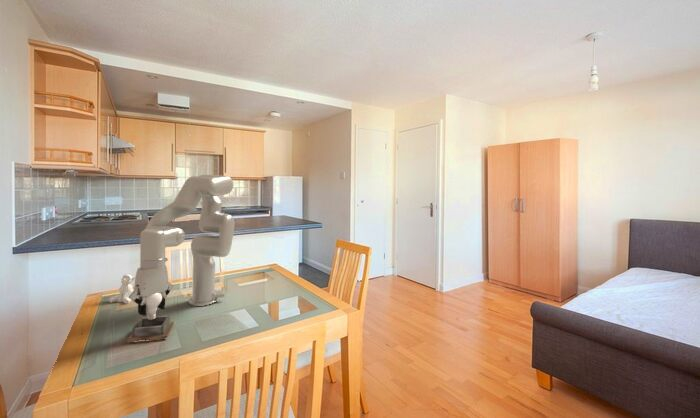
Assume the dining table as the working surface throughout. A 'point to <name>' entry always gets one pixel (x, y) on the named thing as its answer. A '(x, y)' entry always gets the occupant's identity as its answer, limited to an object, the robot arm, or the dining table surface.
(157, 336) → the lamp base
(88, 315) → the dining table surface
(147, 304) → the lightbulb
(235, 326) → the dining table surface
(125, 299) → the sitting furry creature
